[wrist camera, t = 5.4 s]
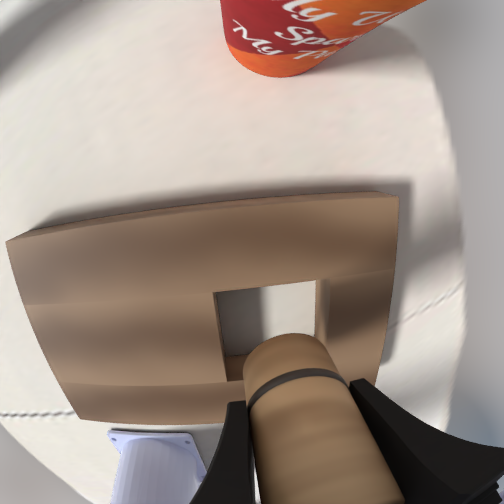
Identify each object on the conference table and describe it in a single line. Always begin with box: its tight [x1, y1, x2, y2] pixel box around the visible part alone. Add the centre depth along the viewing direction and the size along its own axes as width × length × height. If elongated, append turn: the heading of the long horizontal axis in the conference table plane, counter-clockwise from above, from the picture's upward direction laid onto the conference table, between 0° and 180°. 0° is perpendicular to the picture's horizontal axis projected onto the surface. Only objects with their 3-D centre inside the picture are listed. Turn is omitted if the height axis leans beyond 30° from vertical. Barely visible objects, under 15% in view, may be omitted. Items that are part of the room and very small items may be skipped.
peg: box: [243, 333, 405, 504], centre depth 9 cm, size 4×4×8 cm
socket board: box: [5, 191, 399, 425], centre depth 16 cm, size 14×22×2 cm, turn 94°
